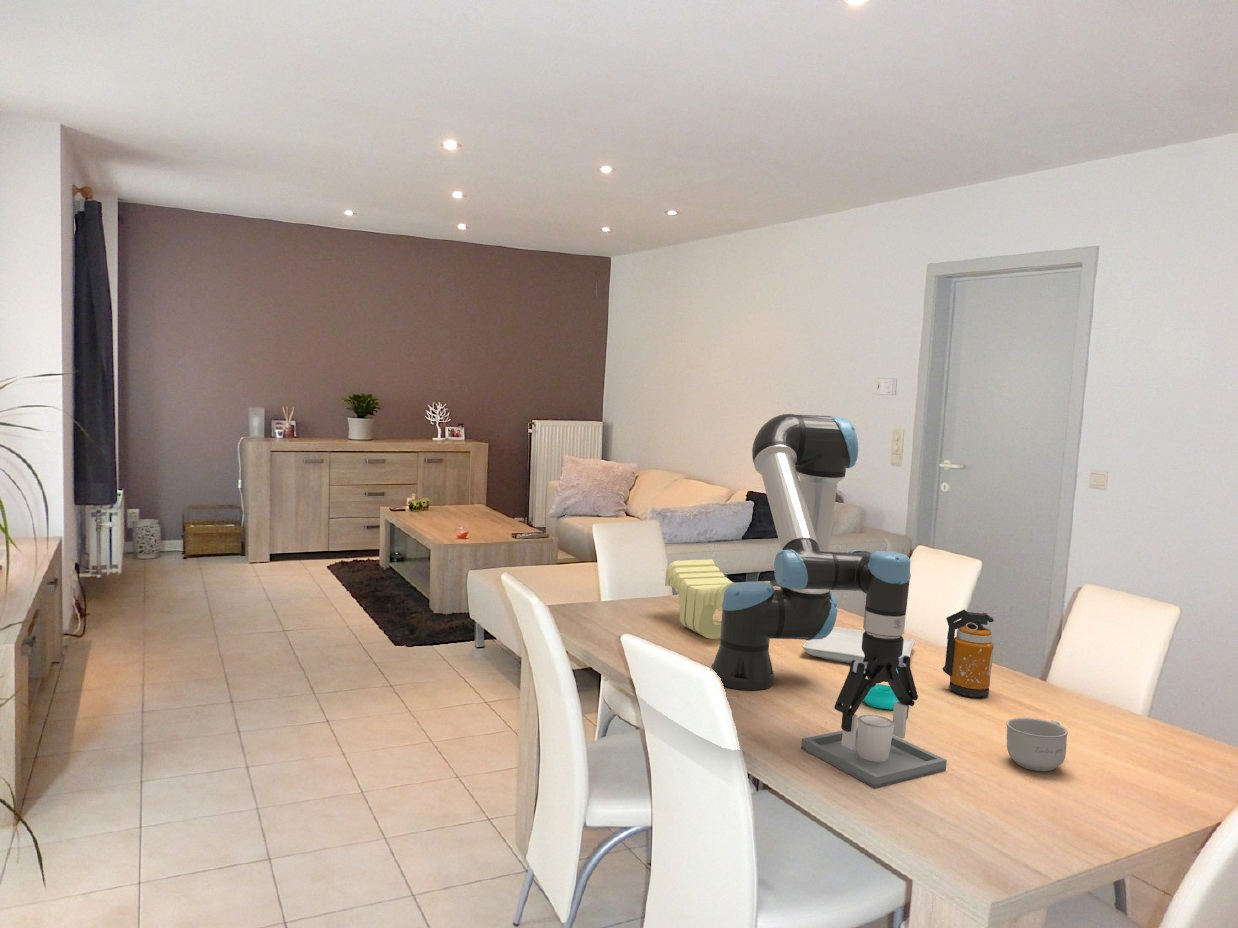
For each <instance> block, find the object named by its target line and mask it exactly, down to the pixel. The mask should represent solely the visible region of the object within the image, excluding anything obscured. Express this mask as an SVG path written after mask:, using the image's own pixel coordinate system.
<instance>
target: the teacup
mask: <svg viewBox="0 0 1238 928" xmlns="http://www.w3.org/2000/svg"><path fill="white" fill-rule="evenodd" d="M1068 734H1069V731H1068V729H1067V728H1065V727H1064V726H1062V725H1061V723H1060V722H1059V721H1057V720H1051V719H1050V720H1049V721H1048V720H1046V719H1045V720H1044V719H1040V718H1034V717H1033V718H1032V717H1028V718H1027V717H1015V718H1011V719H1008V720H1007V721H1006V750H1007V753H1008V755H1009V757H1010V758H1011V759H1012V760H1013V761H1014V762H1015V763H1016V764H1017V766H1018V765H1019V767H1022V768H1025V769H1027V770H1031V771H1036V772H1051V771H1053V770H1055V769H1056V768H1057V767H1059V766H1061V765H1062V764H1063V763H1064V762H1065V759H1066V754H1067V753H1066V752H1067V745H1068V744H1067V742H1068V741H1067V739H1068Z"/></svg>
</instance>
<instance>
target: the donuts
mask: <svg viewBox="0 0 1238 928" xmlns="http://www.w3.org/2000/svg"><path fill="white" fill-rule="evenodd" d="M896 671H897V668H896ZM897 673H898V671H897ZM896 701H897V702H899V701H898V699H897V698H896V696H895V694H894V692H893V691H892V689H891V687H890V685H889V684H881V683H878V684H876V685H875V686H874V687H872V688H871V689H870V691H869V692H868V694H867V695H866V697H865V698H864V700H863V701H862V702H864V703H865V704H867V705H868V706H870V707H874V708H877V709H882V710H894V702H896Z"/></svg>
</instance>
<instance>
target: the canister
mask: <svg viewBox="0 0 1238 928" xmlns="http://www.w3.org/2000/svg"><path fill="white" fill-rule="evenodd" d="M945 619H946V621H947V622H946V623H947V626H948V631H947V638H946V639H947V641H946V642H947V643H946V652H945V653H946V654H945V662H944V665H943V667H942V669H941V670H942V671H943V673H945V674H947V675H948V676H949V683H948V684H949V685H948V686H949V687H948V688H949V690H952V691H953V692H955V693H957V694H958V695H960V694H961V695H960V696H963V695H964V697H968V696H969V698H981V696H982V697H985V696H988V695H989V694H990V685H991V677H992V676H991V674H992V666H993V655H994V645H995V644H994V643H993V641H992V640H993V639H992V638H993V633H992V631H991V629H989V628H987V627H984V626H987V625H988V623H994V621H995V620H994V618H993V616H990V615H989V614H988V613H987V612H972V611H971V612H970V611H967V610H966V609H962V610H960V611H958V612H956V613H954V614H951V615H949V616H947V617H946V618H945ZM955 635H956V636H955Z"/></svg>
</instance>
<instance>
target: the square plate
mask: <svg viewBox="0 0 1238 928" xmlns="http://www.w3.org/2000/svg"><path fill="white" fill-rule="evenodd" d="M864 632H865V630H864V629H863V630H861V629H856V628H855V629H854V628H849V627H839V626H834V627H833V630H832V631H831V633H830V634H829V635H828V636H827V637H825V638H823V639H812V640H805V642H804V643H803V645H802V649H803V650H804V651H805V652H806V654H809V656H810V655H811V656H813V657H816V658H817V657H818V658H820V657H821V659H824V660H827V661H834V662H839V663H844V662H846V663H845V664H850V663H851V661H852V660H856V661H858V662H863V660H864V657H865V655H864V652H863V651H862V638H863V633H864ZM903 639H904V642H903V653H902V654H903V655H906V656H909V657H910V658H911V655H912V651H913V648H914V646H915V644H916V640H915V639H913V638H907V637H903Z"/></svg>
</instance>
